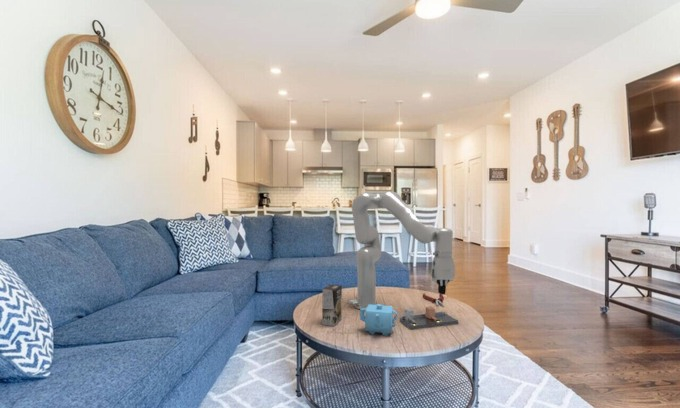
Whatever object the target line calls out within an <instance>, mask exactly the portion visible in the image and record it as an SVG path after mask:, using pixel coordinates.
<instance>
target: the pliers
mask: <svg viewBox="0 0 680 408" xmlns="http://www.w3.org/2000/svg"><path fill="white" fill-rule="evenodd" d="M422 297H423V299H424V300H426V301H429V302H430V303H432V304H435V305H436V306H437V307H439V306H440V307H445V306H444V304H443V301H444V298H445V297H444V294H440V293H439V294H438V297H439V298H437V299H436V298H434V297H432V296H429V295H426V293H422Z"/></svg>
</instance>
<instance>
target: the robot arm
mask: <svg viewBox="0 0 680 408" xmlns="http://www.w3.org/2000/svg"><path fill="white" fill-rule="evenodd" d="M401 197H402V196H401V195H400V194H399V193H397V192H395V191H386V192H381V193H380V192H379V193H375V192H362V193H360V194H358V195H357V196H356V197H355V198H354V199H353V201H352V204H351V214H352V218H353V220H352V221H353V225H354V234H355V240H356V241H357V243H359V244H360V245H363V247H361V248H359V249H357V252H356V255H355V260H356V261H355V262H356V268H357V270H356V271H357V296H356V297H355V298H354V299H348V304H349V305H350V304H351V305H354V307H355V308H356V309H358V310H360V309H361V308H367V307H368V304H370V305H377V304H379V303H378V302H376V301H377V300H376V296H377V295H376V293H377V292H376V289H377V288H376V285H377V283H376V277H377V276H376V266H375V262H377V261H379V260H380V258H381V257H382V247H381V240H380V235H379V230H378V229H377V228H376V227H375V226H373V225H371V222H370V221H371V220H370V215H369V212H368V209H369V210H373V209H374V210H375V209H376V210H378V209H386V210H387V211H388V212H389V213H390V214H391V215H392V216H393V217H394V218H396V220H398V221H399V222H400V224H401V225H402V226H403V228H404V229H405V230H406V231H407V232H408V233H409V234H410V235H411V236H412V237H413V238H414V239H416V240H417V241H418V242H419V243H421V244H426V245H427V244H430V243H432V242H433V243H434V242H435V244H434V245H435V246H434V249H435V250H434V252H432V255H433V259H432V264H431V276H430V277H431V281H432V282H435V283H436V285H438V287H437V293H439V294H442V295H446V292H447V291H446V289H447V286H448V284H449V283H450V282H452V281H454V279H455V276H456V270H455V269H456V268H455V267H456V266H455V261H454V260H455V259H454V257H453V238H454V237H453V234H454V233H453V230H452V229H451V228H443V227H440V228H439V227H433V226H426V225H424V224H423V223H422V222H421V221H420V220H419V218H417V217H416V215H415V214H414V210H413V209H412V207H410V206H409V205H408V204H407V203H406V202H404V200H403V199H402V198H401Z"/></svg>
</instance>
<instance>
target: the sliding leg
mask: <svg viewBox="0 0 680 408" xmlns="http://www.w3.org/2000/svg"><path fill="white" fill-rule="evenodd" d="M435 312H436V309H435V307H434V306H425V312H424V313H425V316H426V317H427V318H429V319H431V318H432V319H434V320H437V319H436V318H435Z"/></svg>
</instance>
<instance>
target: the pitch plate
mask: <svg viewBox="0 0 680 408" xmlns="http://www.w3.org/2000/svg"><path fill="white" fill-rule="evenodd" d="M435 318H436V319H437V320H434V319H432V318H431V319H429V318H427V317H426V316H425V312H423V313H415V310H414V309H412V308H410V307H409V308H404V315H403V314H402V315H401V316H400V317H399V323H401V324H403V325H404V327H406V328H408V329H409V330H410V331H412V330H420V329H428V328H435V327H436V328H437V327H444V326H450V325H458V324H459V320H458V319H456V318H454V317H452V316H451V315H449V314H447V313H446V310H442V311H435Z"/></svg>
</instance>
